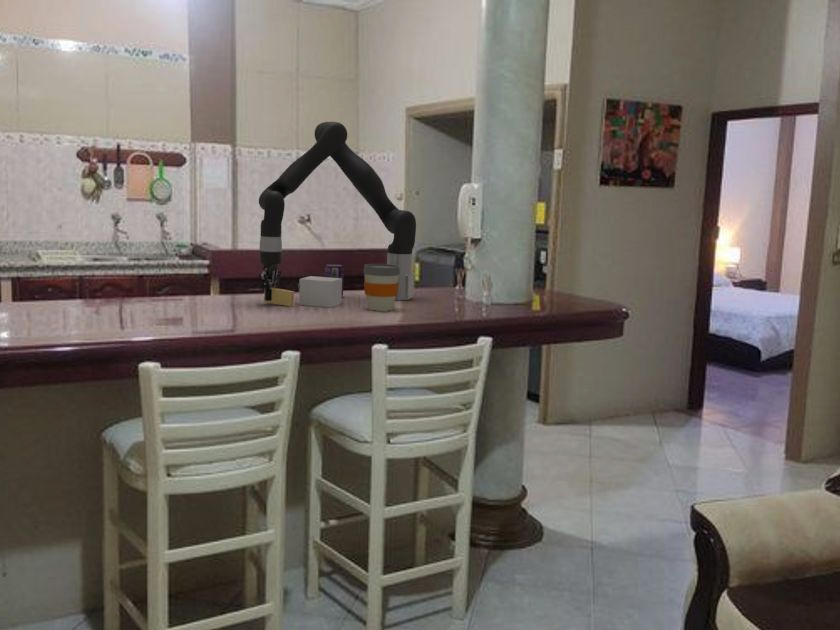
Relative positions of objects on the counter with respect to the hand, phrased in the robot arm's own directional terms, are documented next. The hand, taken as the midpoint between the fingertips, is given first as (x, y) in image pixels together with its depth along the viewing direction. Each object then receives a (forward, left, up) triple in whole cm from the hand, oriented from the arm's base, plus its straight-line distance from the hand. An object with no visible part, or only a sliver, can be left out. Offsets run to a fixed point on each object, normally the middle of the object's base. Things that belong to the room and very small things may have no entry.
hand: (269, 299), depth 272 cm
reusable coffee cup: (-37, -9, -2) cm, 38 cm away
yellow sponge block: (-3, 0, -1) cm, 3 cm away
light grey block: (-15, -9, -2) cm, 18 cm away
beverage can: (-13, -28, -2) cm, 31 cm away
